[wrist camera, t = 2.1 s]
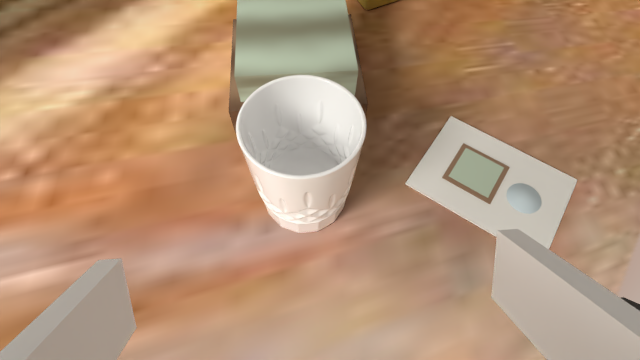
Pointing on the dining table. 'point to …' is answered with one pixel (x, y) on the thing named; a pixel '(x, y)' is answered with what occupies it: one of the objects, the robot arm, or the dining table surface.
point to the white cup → (302, 148)
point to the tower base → (292, 46)
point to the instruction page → (492, 183)
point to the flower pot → (374, 3)
